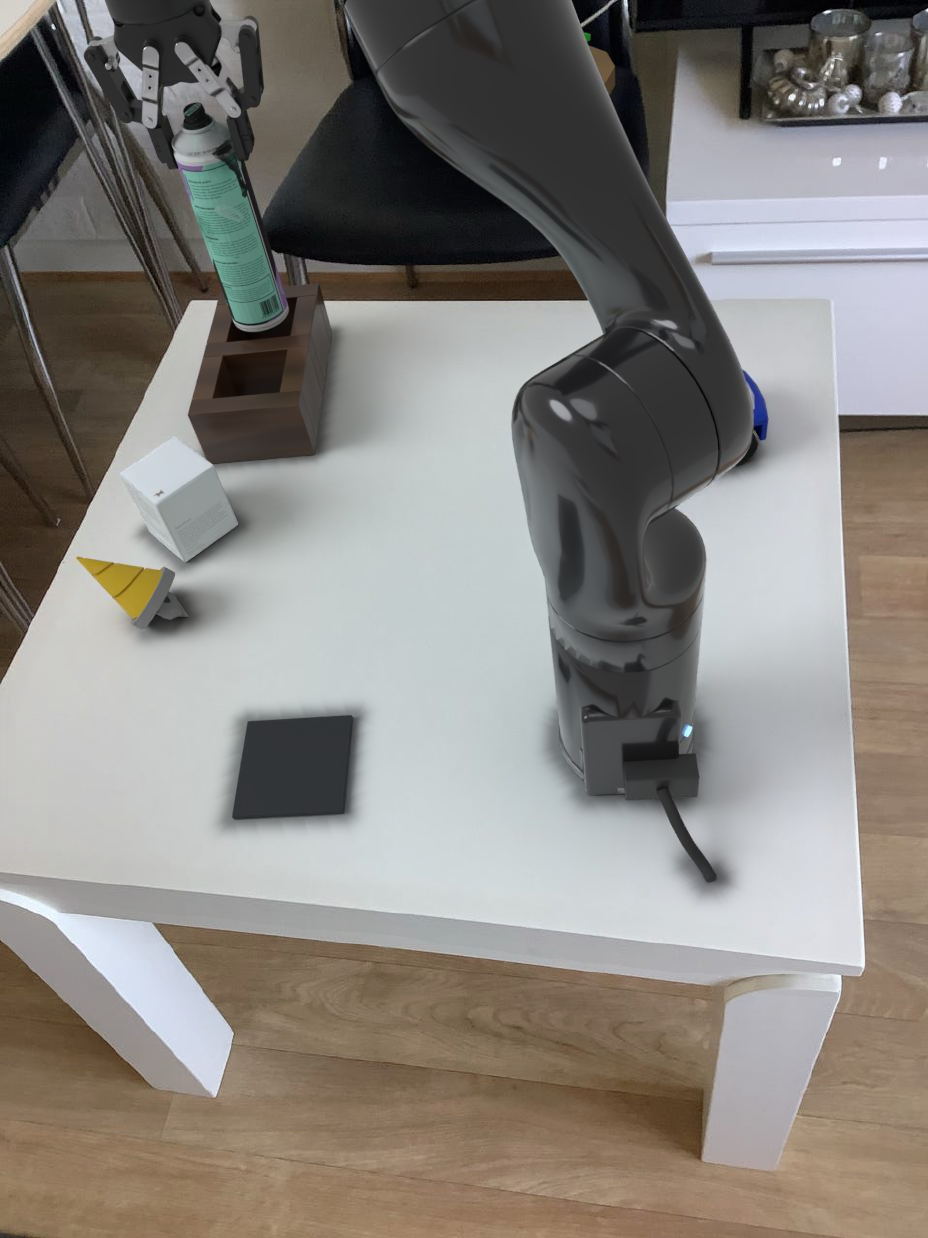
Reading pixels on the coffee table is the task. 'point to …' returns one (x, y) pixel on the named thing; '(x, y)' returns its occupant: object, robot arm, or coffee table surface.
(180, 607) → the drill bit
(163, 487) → the product box
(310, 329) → the can holder
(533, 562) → the coffee table surface
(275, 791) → the tool mat
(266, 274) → the spray can
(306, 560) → the coffee table surface
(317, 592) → the coffee table surface
